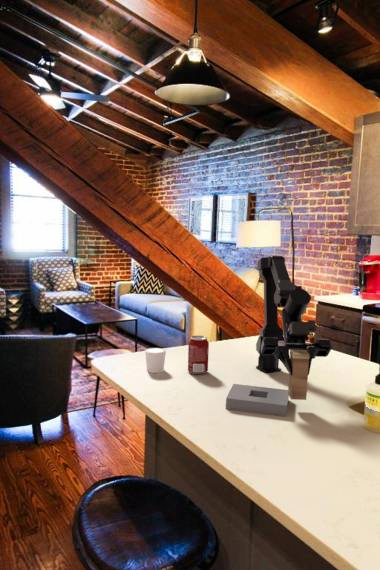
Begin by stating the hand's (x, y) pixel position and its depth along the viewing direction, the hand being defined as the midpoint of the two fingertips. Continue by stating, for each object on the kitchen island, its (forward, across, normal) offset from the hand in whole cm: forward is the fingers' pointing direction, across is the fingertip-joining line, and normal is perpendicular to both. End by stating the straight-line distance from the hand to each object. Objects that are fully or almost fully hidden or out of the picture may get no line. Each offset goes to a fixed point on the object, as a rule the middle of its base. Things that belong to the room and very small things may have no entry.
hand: (299, 374), depth 121 cm
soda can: (-15, -26, +30) cm, 42 cm away
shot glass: (-15, -41, +30) cm, 53 cm away
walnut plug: (+4, 0, +6) cm, 7 cm away
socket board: (+4, -10, +10) cm, 15 cm away
